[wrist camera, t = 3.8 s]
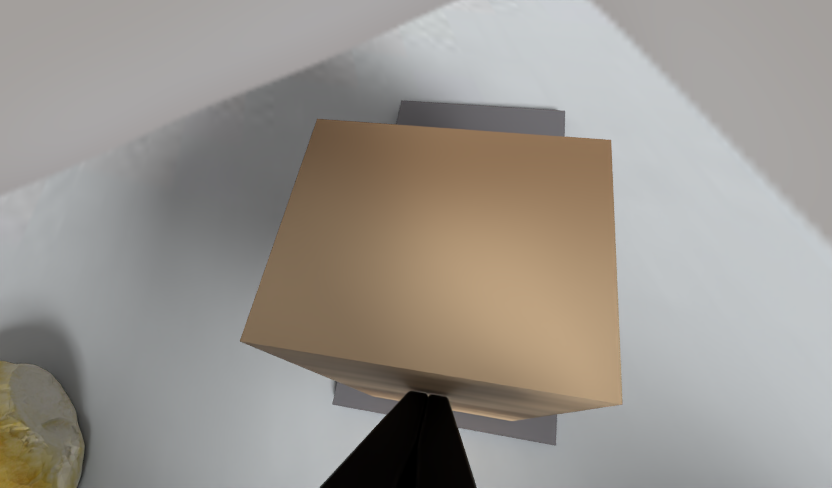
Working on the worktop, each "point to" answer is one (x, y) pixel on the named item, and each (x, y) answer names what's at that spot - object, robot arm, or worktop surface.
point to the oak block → (449, 268)
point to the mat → (482, 121)
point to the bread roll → (37, 430)
